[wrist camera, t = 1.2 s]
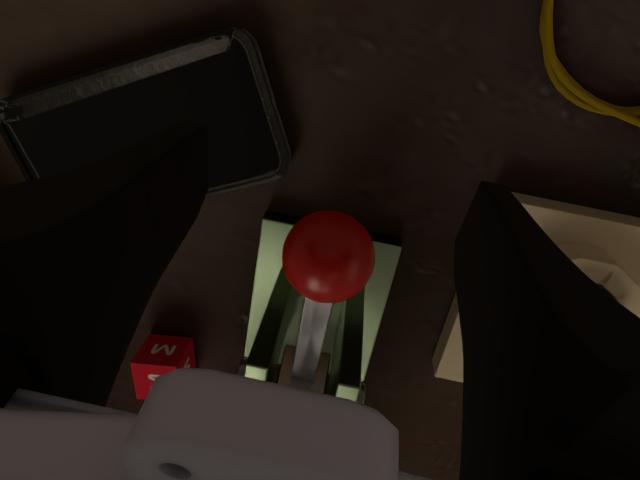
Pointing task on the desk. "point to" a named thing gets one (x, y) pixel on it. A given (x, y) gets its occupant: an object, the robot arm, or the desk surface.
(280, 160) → the phone
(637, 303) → the switch plate
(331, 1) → the desk surface
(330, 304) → the switch lever
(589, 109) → the extension cord
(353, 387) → the switch bracket
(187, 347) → the red letter cube
